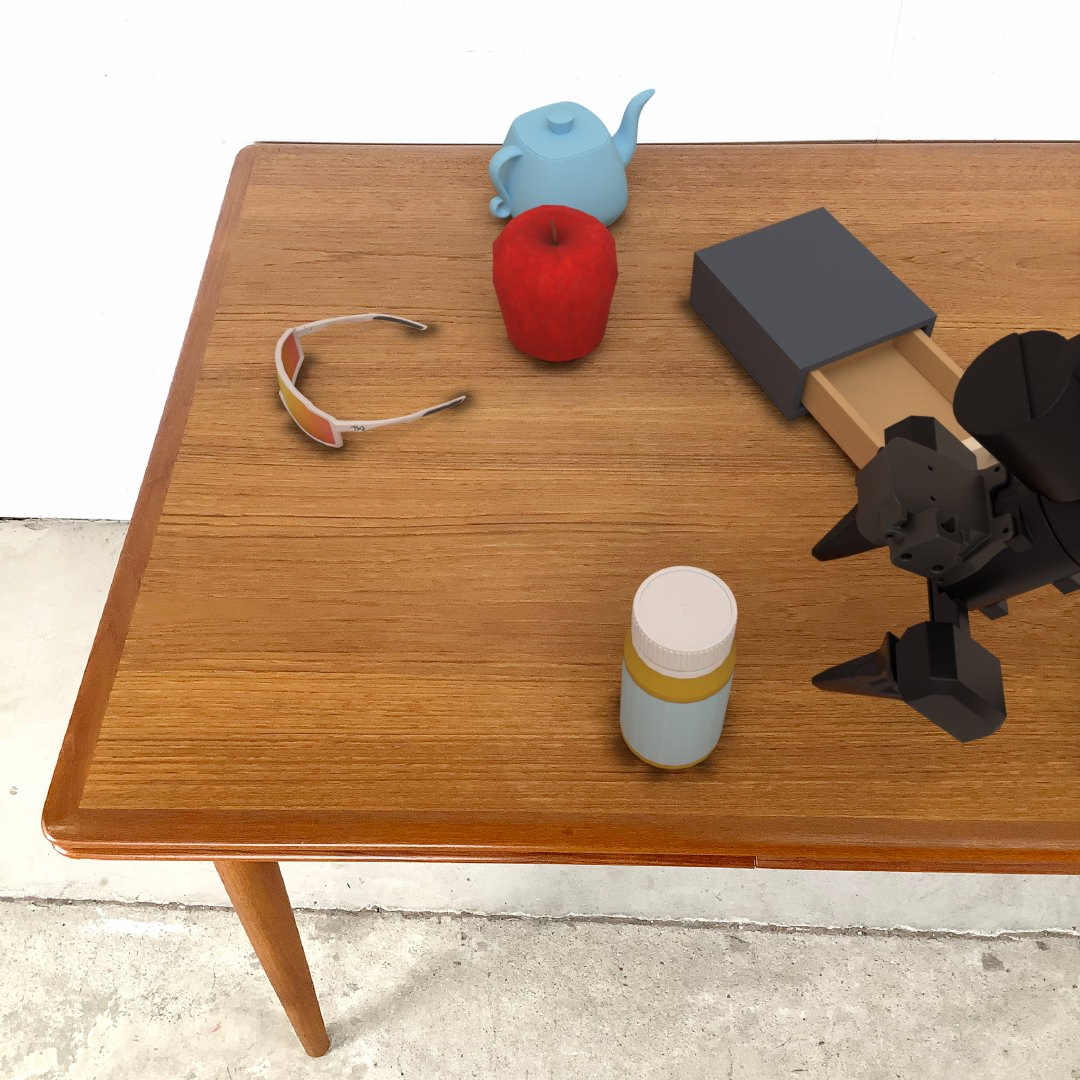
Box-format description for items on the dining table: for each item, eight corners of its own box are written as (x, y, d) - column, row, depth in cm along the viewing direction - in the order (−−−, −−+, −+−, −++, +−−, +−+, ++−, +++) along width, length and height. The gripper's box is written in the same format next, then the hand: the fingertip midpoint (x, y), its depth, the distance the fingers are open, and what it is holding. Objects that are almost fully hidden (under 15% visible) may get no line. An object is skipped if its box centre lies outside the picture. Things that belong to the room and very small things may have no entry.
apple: (499, 387, 98) (488, 264, 88) (498, 309, 105) (488, 184, 94) (619, 382, 98) (623, 258, 87) (611, 303, 104) (614, 178, 94)
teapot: (689, 115, 104) (514, 173, 99) (681, 212, 112) (520, 269, 108) (621, 52, 111) (455, 104, 106) (618, 148, 119) (465, 199, 115)
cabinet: (920, 368, 98) (938, 315, 93) (788, 421, 95) (799, 369, 90) (812, 259, 107) (823, 206, 102) (688, 304, 104) (693, 251, 99)
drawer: (1051, 497, 88) (1070, 461, 84) (922, 555, 85) (936, 520, 82) (897, 343, 99) (908, 305, 95) (778, 390, 96) (785, 353, 92)
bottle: (615, 767, 76) (620, 652, 64) (624, 678, 80) (631, 554, 68) (718, 779, 76) (743, 664, 64) (722, 688, 80) (746, 565, 68)
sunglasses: (260, 363, 101) (255, 319, 97) (419, 332, 106) (420, 289, 102) (304, 472, 93) (301, 428, 89) (473, 432, 98) (477, 390, 94)
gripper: (961, 302, 59) (732, 432, 69) (996, 595, 48) (717, 698, 58) (1072, 415, 64) (844, 520, 74) (1127, 703, 53) (850, 780, 63)
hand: (815, 617), depth 67 cm, fingers open, 9 cm apart
